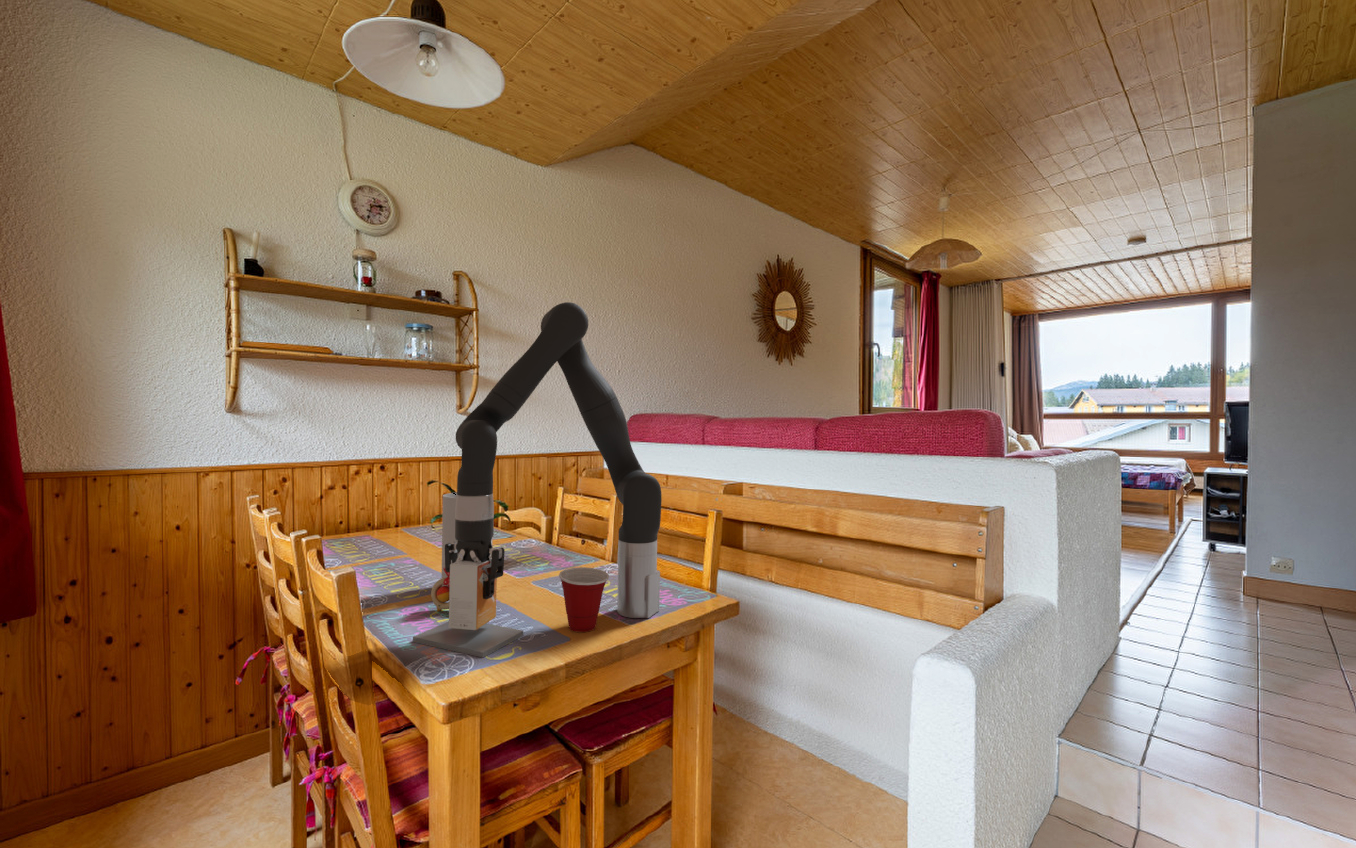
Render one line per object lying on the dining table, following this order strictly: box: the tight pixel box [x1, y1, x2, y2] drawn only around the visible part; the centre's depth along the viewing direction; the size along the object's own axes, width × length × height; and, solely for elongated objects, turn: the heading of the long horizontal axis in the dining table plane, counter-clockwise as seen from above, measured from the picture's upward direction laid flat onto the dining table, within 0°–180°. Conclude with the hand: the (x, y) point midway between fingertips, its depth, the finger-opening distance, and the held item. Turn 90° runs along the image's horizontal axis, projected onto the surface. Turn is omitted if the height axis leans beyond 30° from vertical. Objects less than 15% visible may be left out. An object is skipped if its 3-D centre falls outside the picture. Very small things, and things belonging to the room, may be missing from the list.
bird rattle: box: [430, 567, 450, 612], centre depth 131 cm, size 6×11×9 cm
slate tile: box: [412, 621, 525, 658], centre depth 114 cm, size 18×12×1 cm, turn 68°
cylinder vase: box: [441, 492, 493, 586], centre depth 148 cm, size 12×12×25 cm
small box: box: [448, 558, 498, 630], centre depth 115 cm, size 8×6×13 cm
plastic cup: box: [558, 566, 610, 633], centre depth 121 cm, size 11×11×12 cm
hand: (473, 595), depth 115 cm, fingers closed on small box, 7 cm apart
